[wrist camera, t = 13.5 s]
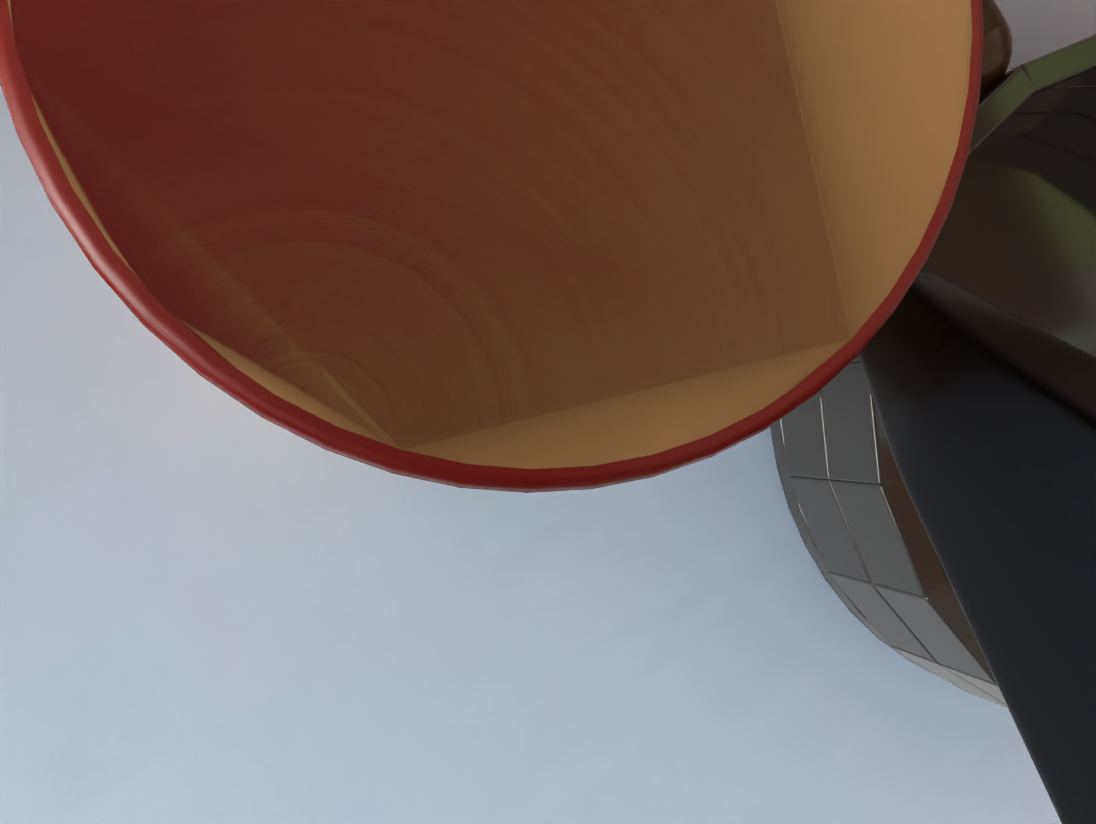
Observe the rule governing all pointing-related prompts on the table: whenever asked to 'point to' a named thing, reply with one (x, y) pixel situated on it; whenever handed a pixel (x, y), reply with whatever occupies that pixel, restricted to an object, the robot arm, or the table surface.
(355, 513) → the table surface
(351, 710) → the table surface
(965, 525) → the robot arm
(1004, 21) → the pan handle
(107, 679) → the table surface
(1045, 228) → the pan
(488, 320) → the cracker tube
